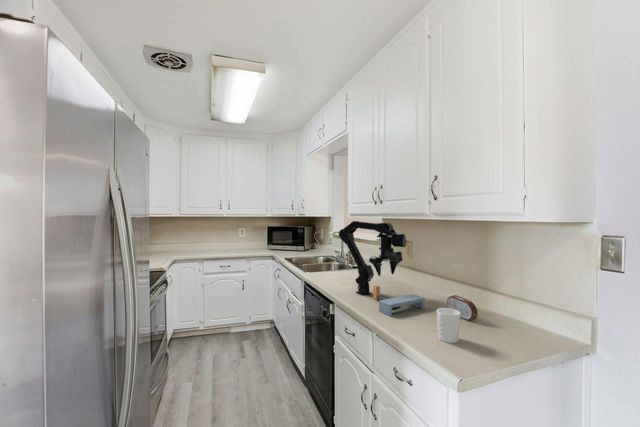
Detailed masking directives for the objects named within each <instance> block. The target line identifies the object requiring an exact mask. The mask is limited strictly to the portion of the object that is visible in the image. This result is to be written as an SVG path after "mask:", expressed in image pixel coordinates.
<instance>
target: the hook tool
mask: <svg viewBox="0 0 640 427" xmlns="http://www.w3.org/2000/svg"><path fill="white" fill-rule="evenodd" d="M385 299H387V298H386V297H383V296H381V286H379V285H373V286H372V300H374V301H378V302H379V301H380V300H385ZM397 308H398V307H394V308H392V310H393V309H397Z"/></svg>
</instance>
